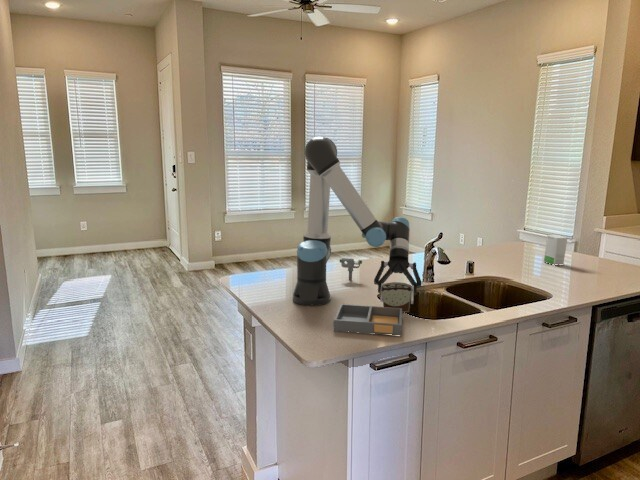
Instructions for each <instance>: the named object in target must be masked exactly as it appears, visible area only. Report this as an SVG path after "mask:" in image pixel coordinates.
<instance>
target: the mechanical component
mask: <svg viewBox="0 0 640 480" xmlns="http://www.w3.org/2000/svg"><path fill="white" fill-rule="evenodd" d="M339 263H340V265H341V267H342V268H345V269H346V268H347V271H348V281H351V282H352V281H353V272H354V269H360V267H361V264H363V260H361V259H358V261H357V262H356V261H355V259H354V258H345V257H344V258H340V259H339Z"/></svg>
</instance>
